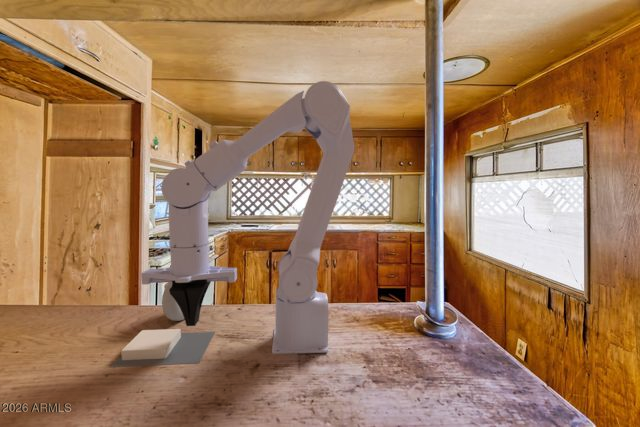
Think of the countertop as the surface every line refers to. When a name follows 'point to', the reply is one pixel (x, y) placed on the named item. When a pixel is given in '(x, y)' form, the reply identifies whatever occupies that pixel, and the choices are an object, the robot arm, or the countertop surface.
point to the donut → (171, 305)
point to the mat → (176, 352)
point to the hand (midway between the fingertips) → (192, 323)
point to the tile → (151, 344)
